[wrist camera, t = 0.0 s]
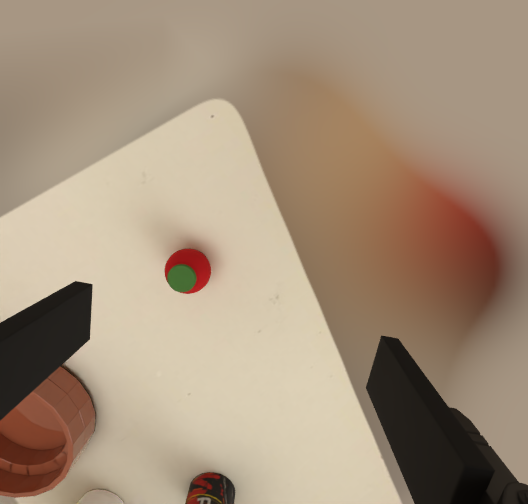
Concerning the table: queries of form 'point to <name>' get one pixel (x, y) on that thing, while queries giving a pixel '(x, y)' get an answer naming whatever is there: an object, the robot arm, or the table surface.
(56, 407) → the bowl
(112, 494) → the foam cup
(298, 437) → the table surface
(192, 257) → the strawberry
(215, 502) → the deodorant
